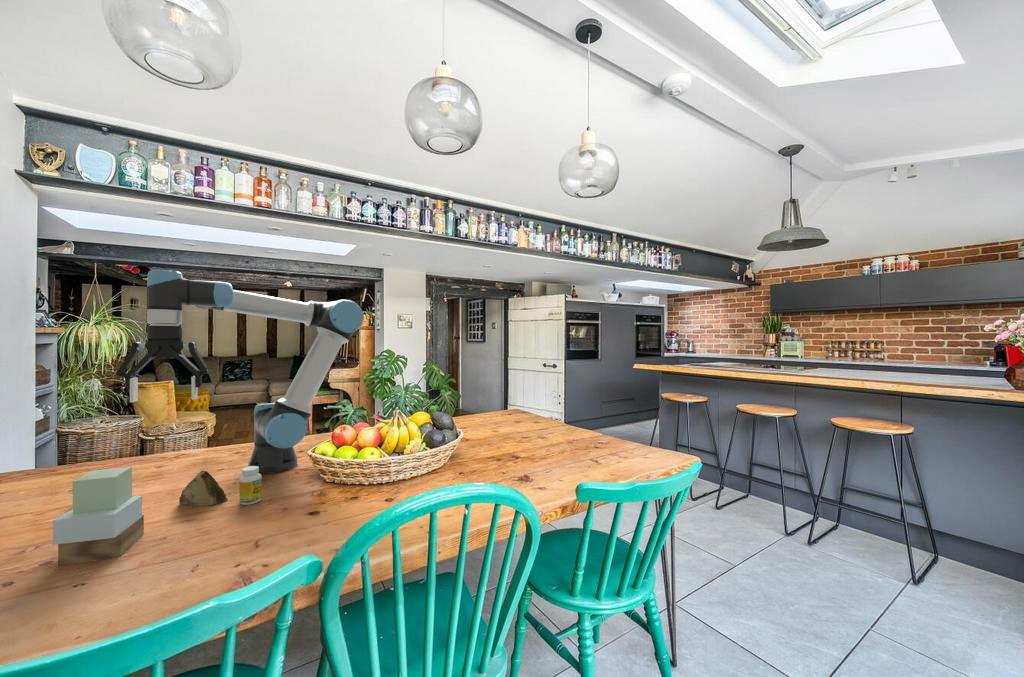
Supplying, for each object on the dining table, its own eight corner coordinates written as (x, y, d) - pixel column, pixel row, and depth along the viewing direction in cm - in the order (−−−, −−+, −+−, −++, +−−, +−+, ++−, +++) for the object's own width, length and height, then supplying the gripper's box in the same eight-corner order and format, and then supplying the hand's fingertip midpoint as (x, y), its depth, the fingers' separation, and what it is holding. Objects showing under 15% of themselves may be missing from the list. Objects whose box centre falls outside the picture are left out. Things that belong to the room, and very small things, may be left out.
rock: (164, 499, 110) (183, 501, 105) (184, 468, 115) (204, 469, 110) (202, 511, 117) (221, 513, 113) (219, 481, 122) (239, 483, 118)
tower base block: (143, 535, 95) (143, 514, 95) (121, 557, 86) (121, 534, 86) (88, 543, 91) (88, 521, 91) (58, 567, 82) (58, 543, 82)
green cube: (132, 496, 93) (131, 466, 93) (116, 509, 87) (116, 476, 87) (92, 501, 91) (91, 470, 90) (72, 514, 84) (72, 481, 84)
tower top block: (141, 516, 94) (142, 495, 94) (114, 537, 84) (114, 514, 84) (87, 522, 91) (87, 500, 91) (52, 544, 81) (52, 520, 81)
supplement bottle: (246, 497, 117) (247, 464, 117) (265, 497, 117) (265, 464, 117) (234, 505, 112) (234, 471, 111) (254, 505, 112) (254, 471, 112)
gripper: (221, 326, 122) (221, 395, 122) (113, 324, 112) (113, 400, 112) (214, 325, 115) (214, 399, 115) (99, 324, 105) (99, 405, 105)
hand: (164, 400), depth 114 cm, fingers open, 13 cm apart
